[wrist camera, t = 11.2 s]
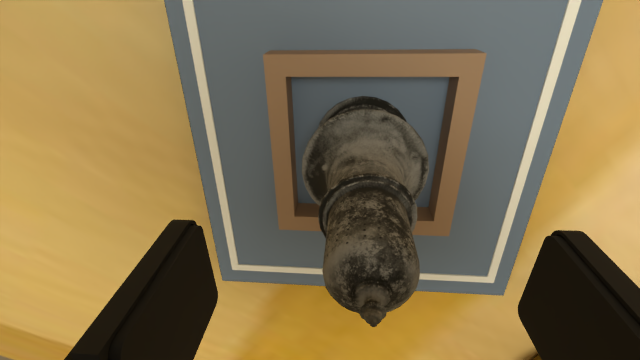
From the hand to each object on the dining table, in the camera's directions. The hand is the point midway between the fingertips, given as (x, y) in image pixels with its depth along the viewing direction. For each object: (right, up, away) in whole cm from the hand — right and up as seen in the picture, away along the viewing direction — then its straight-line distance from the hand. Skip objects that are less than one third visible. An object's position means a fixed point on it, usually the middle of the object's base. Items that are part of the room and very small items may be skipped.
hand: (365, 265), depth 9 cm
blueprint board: (+1, +5, +10) cm, 11 cm away
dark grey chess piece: (+1, +5, +9) cm, 11 cm away
